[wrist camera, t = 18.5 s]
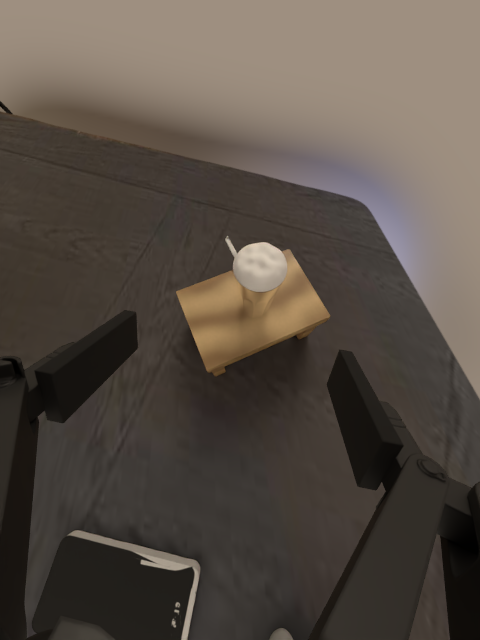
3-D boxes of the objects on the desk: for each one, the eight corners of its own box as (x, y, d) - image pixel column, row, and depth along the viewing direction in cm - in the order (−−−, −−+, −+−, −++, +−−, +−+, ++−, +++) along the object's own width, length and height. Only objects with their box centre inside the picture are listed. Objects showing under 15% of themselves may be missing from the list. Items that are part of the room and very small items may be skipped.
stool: (188, 316, 36) (175, 291, 28) (279, 280, 38) (289, 248, 31) (213, 379, 33) (206, 370, 25) (310, 336, 35) (330, 316, 28)
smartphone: (63, 533, 26) (200, 568, 25) (71, 527, 27) (202, 561, 26) (28, 630, 23) (179, 674, 22) (39, 619, 25) (183, 660, 24)
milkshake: (238, 279, 29) (239, 216, 20) (280, 297, 28) (301, 241, 19) (221, 310, 28) (212, 259, 18) (264, 330, 27) (278, 288, 18)
